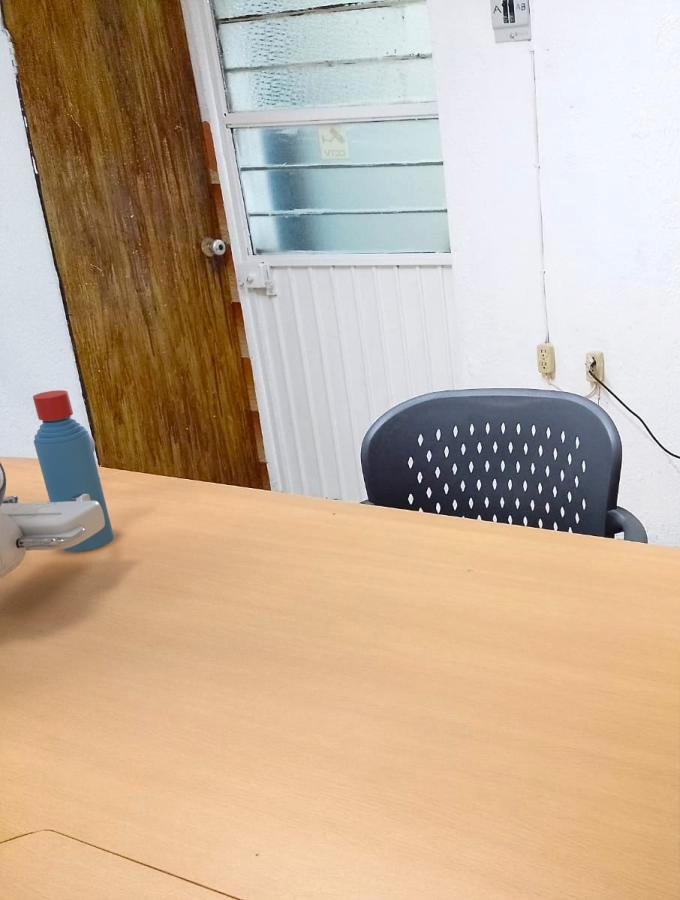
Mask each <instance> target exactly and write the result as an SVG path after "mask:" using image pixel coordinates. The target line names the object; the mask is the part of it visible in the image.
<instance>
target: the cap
mask: <svg viewBox="0 0 680 900" xmlns="http://www.w3.org/2000/svg"><path fill="white" fill-rule="evenodd" d="M32 400H33V403H34V407H35V410H36V414H37V418H38V420H40V421H49V420H58V419H62V418H66V417H69V416H70V417H72V415H73V414H74V412H73V408H72V407H73V406H72V403H71V400H70V395H69V392H68V391H67V390H63V389H62V390H59V389H57V390H49V391H48V390H47V391H43V392H40V393H37V394H34V395H32Z"/></svg>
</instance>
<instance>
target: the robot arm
mask: <svg viewBox="0 0 680 900" xmlns="http://www.w3.org/2000/svg"><path fill="white" fill-rule="evenodd" d="M6 489H7V476H6V472H5V469H4V467H3V465H2V462H0V580H2V579H3V578H4V577H5V576H7V575H8V574H9V573H12V571H14V570H15V569H16V568H18V566H20V565H21V564H22V562H23V561H24V559H25V556H26V552H27V551H53V550H56V551H57V550H63V549H65V548H69V547H72V546H74V545H77V544H79V543H81V542H82V541H84V540H86V539H87V538H89V537H91V536H92V535H94V534H95V533H97V532H98V531H100V530H101V529H102V528H103V527H104V526H105V519H104V514H103V510H102V508H101V506H100V504H99V503H98V502H97V501H91V500H90V496H89V494H76V495H75V496H73V497H71V498H70V499H71V501H66V502H50V501H41V502H40V501H39V502H19V498H18V496H17V495H14V496H13V495H12V496H11V495H10V496H9V495H7V496H6V495H5V494H6V491H7V490H6Z"/></svg>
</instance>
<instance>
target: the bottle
mask: <svg viewBox="0 0 680 900" xmlns="http://www.w3.org/2000/svg"><path fill="white" fill-rule="evenodd" d="M41 421H42V424H40V425H39V429H37V431H36V434H35V435H34V439H33V445H34V447H35V452H36V455H37V460H38V463H39V466H40V467H39V468H40V471H41V474H42V478H43V482H44V485H45V489H46V493H47V496H48V500H49V502H66V501H71V499H70V498H71V497H73V496H75V495H76V494H89V496H90V500H91V501H97V502H98V503H99V504H100V506H101V508H102V510H103V514H104V519H105V526H104V527H103V528H102V529H101V530H100V531H98V532H97V533H95V534H94V535H92V536H91V537H89V538H87V539H86V540H84V541H82V542H81V543H79V544H77V545H74V546H72V547H69V548H65V549H62V550H63V551H65V552H68V553H82V552H87V551H92V550H96V549H99V548H102V547H104V546H106V545H107V544H109V543H111V542H112V541H113V540H114V537H115V535H114V532H113V527H112V523H111V519H110V515H109V510H108V506H107V503H106V499H105V498H106V497H105V494H104V491H103V486H102V483H101V479H100V474H99V470H98V466H97V463H96V458H95V454H94V453H93V450H92V446H91V442H90V437H89V434H90V432H89V431H88V430H87V429H86V427H85V426H82V425H81V423H80V422H77V421H76V419H74V418H72V416H69V417H66V418H62V419H58V420H49V421H43V420H41Z"/></svg>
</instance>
